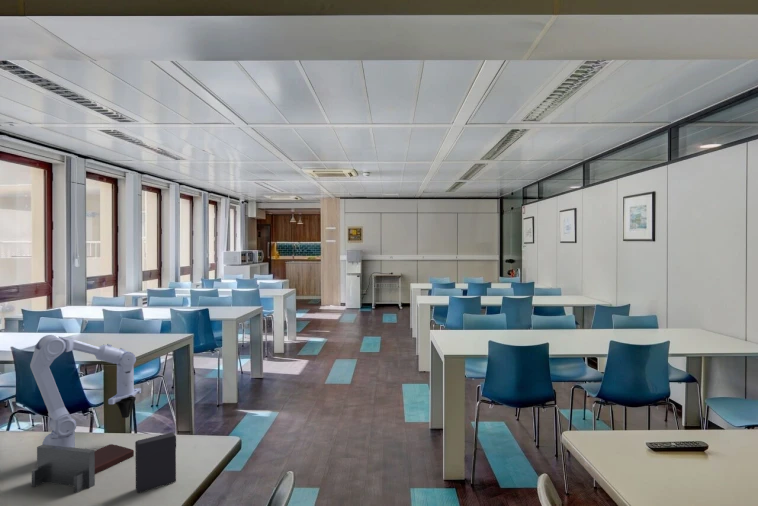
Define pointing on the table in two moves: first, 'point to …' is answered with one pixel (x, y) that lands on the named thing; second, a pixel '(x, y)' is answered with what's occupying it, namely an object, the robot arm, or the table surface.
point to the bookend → (64, 467)
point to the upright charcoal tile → (155, 461)
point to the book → (111, 456)
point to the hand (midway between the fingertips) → (125, 417)
